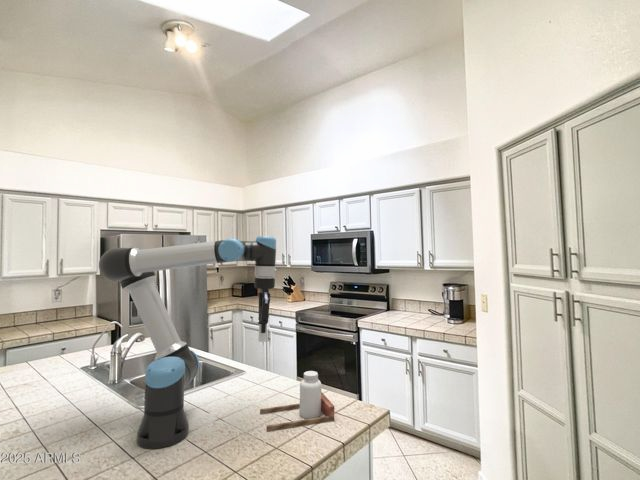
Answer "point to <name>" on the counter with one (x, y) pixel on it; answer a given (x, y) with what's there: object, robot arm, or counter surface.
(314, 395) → the pill bottle
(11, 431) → the counter surface
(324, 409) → the guide channel
